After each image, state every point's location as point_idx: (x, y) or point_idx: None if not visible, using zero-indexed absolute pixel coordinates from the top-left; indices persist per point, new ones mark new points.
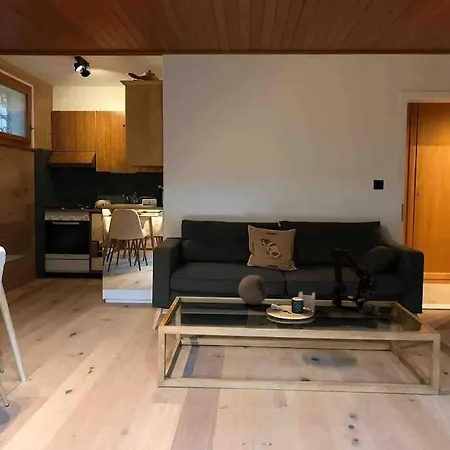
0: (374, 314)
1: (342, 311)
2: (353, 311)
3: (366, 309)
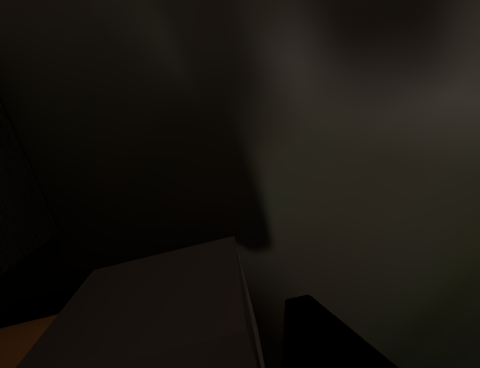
0: (11, 137)
1: (466, 363)
2: None
3: (132, 313)
